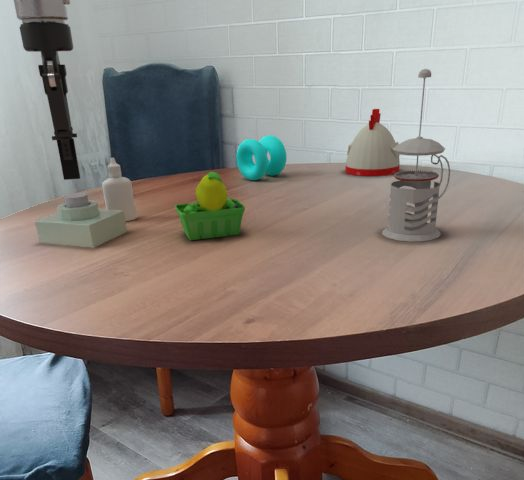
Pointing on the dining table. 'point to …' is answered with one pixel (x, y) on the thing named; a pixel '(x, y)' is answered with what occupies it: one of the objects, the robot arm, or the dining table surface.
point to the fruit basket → (211, 211)
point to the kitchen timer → (372, 150)
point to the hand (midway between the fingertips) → (72, 178)
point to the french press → (415, 190)
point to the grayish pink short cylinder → (76, 200)
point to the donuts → (261, 157)
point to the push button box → (81, 226)
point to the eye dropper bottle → (119, 192)
